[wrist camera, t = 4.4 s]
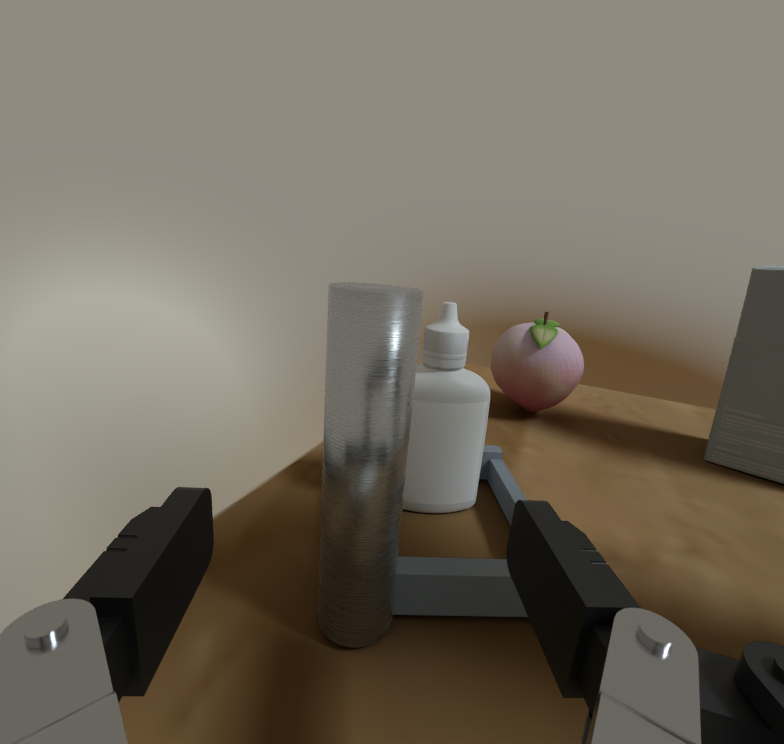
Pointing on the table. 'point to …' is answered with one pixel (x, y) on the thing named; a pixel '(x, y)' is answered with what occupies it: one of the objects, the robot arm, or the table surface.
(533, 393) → the decorative fruit
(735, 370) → the skincare box
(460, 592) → the pull frame
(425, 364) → the eye dropper bottle
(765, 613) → the table surface
